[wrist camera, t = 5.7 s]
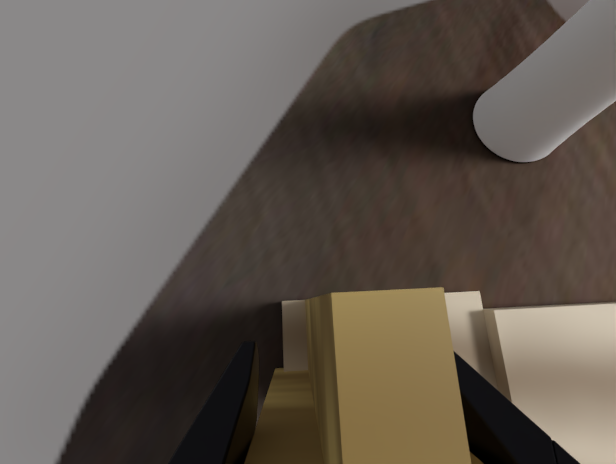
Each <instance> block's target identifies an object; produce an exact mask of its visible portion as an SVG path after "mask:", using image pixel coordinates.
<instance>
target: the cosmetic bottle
mask: <svg viewBox="0 0 616 464" xmlns="http://www.w3.org/2000/svg"><path fill="white" fill-rule="evenodd" d="M615 101H616V0H589V1H588V2H587V3H586V4H585V5H584V6H583V7H582V8H581V9H580V10H579V11H578V12H577V13H575V14H574V15H573V16H572V17H571V18H570V19H569V20H568V21H567V22H566V23H565V24H564V25H563V26H562V27H561V28H560V29H558V30H557V31H556V32H555V33H554V34H553V35H552V36H551V37H550V38H549V39H548V40H546V41H545V42H544V43H543V44H542V45H541V46H540V47H539V48H538V49H536V50H535V51H534V52H533V53H532V54H531V55H530V56H529V57H527V58H526V59H525V60H524V61H523V62H522V63H521V64H519V65H518V66H517V67H516V68H515V69H513V70H512V71H511V72H510V73H509V74H508V75H506V76H505V77H504V78H503V79H501V80H500V81H499V82H498V83H496V84H495V85H494V86H493V87H491V88H490V89H489V90H487V91H486V92H485V93H483V94H482V95H481V96H480V98H479V99H478V101H477V102H476V104H475V107H474V111H473V123H474V127H475V130H476V133H477V135H478V136H479V138H480V140H481V141H482V142H483V143H484V145H485V146H486V147H487V148H488V149H490V150H491V151H492V152H494V153H495V154H497V155H498V156H500V157H502V158H505V159H507V160H511V161H516V162H532V161H536V160H539V159H542V158H544V157H545V156H547V155H548V154H550V153H551V152H552V151H553V150H554V149H555V148H556V147H558V146H559V145H560V144H561V143H562V142H563V141H565V140H566V139H567V138H568V137H569V136H571V135H572V134H573V133H574V132H575V131H577V130H578V129H579V128H581V127H582V126H583V125H584V124H586V123H587V122H588V121H589V120H591V119H592V118H593V117H595V116H596V115H597V114H599V113H600V112H601V111H603V110H604V109H605V108H607V107H608V106H609V105H611V104H612V103H613V102H615Z"/></svg>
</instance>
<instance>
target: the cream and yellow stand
mask: <svg viewBox="0 0 616 464" xmlns="http://www.w3.org/2000/svg"><path fill="white" fill-rule="evenodd" d="M282 323H283V360H284V368H275V371H274V374H273V377H272V380H271V383H270V386H269V389H268V392H267V395H266V398H265V401H264V405H263V408H262V411H261V414H260V417H259V420H258V423H257V426H256V429H255V433H254V435H253V438H252V441H251V445H250V448H249V451H248V454H247V457H246V460H245V463H244V464H484V463H483V462H481V461H480V460H479V459H478V458H477V457H476V456H474V455H473V454H472V453H471V452H470V451H469V445H468V439H467V433H466V427H465V420H464V414H463V408H462V401H461V395H460V389H459V383H458V376H457V370H456V364H455V357H454V351H455V352H456V353H457V354H458V355H459V356H460V357H461V358H462V359H464V360H465V361H466V362H467V363H468V364H469V365H470V366H471V367H473V368H474V369H475V370H476V371H477V372H478V373H479V374H480V375H481V376H483V377H484V378H485V379H486V380H487V381H488V382H489V383H490V384H492V385H493V386H494V387H495V388H496V389H497V390H498V391H499V392H501V393H502V394H503V395H504V396H505V397H506V398H507V399H508V400H509V401H511V402H512V403H513V404H514V405H515V406H516V407H517V408H518V409H520V410H521V411H522V412H523V413H524V414H525V415H526V416H527V417H529V418H530V419H531V420H532V421H533V422H534V423H535V424H536V425H537V426H539V427H540V428H541V429H542V430H543V431H544V432H545V433H546V434H548V435H549V436H550V437H551V440H554V441H556V442H557V443H558V444H559V445H560V446H561V447H562V448H563V449H564V450H566V451H567V452H568V453H569V454H570V455H571V456H572V457H574V458H575V459H576V460H577V461H578V462H579V463H580V464H616V302H600V303H581V304H563V305H544V306H526V307H507V308H488V309H483V307H482V302H481V297H480V291H473V292H453V293H444V288H443V287H442V288H421V289H401V290H381V291H361V292H341V293H329V294H326V295H322V296H318V297H314V298H311V299H307V300H295V301H282Z"/></svg>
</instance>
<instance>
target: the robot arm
mask: <svg viewBox="0 0 616 464" xmlns="http://www.w3.org/2000/svg"><path fill="white" fill-rule="evenodd" d="M454 357H455V364H456V370H457V376H458V383H459V389H460V395H461V401H462V408H463V414H464V420H465V427H466V433H467V439H468V445H469V451H470V452H471V453H472V454H473V455H474V456H476V457H477V458H478V459H479V460H480V461H481V462H483V463H484V464H580V463H579V462H578V461H577V460H576V459H575V458H574V457H572V456H571V455H570V454H569V453H568V452H567V451H566V450H564V449H563V448H562V447H561V446H560V445H559V444H558V443H557V442H556V441H554V440H551V437H550V436H549V435H548V434H546V433H545V432H544V431H543V430H542V429H541V428H540V427H539V426H537V425H536V424H535V423H534V422H533V421H532V420H531V419H530V418H529V417H527V416H526V415H525V414H524V413H523V412H522V411H521V410H520V409H518V408H517V407H516V406H515V405H514V404H513V403H512V402H511V401H509V400H508V399H507V398H506V397H505V396H504V395H503V394H502V393H501V392H499V391H498V390H497V389H496V388H495V387H494V386H493V385H492V384H490V383H489V382H488V381H487V380H486V379H485V378H484V377H483V376H481V375H480V374H479V373H478V372H477V371H476V370H475V369H474V368H473V367H471V366H470V365H469V364H468V363H467V362H466V361H465V360H464V359H462V358H461V357H460V356H459V355H458V354H457V353H456V352H455V351H454ZM258 382H259V354H258V347H257V342H256V341H244V342H242V344H241V345H240V347H239V348H238V350H237V352H236V353H235V355H234V356H233V358H232V360H231V361H230V363H229V365H228V366H227V368H226V370H225V371H224V373H223V374H222V376H221V378H220V379H219V381H218V383H217V384H216V386H215V388H214V389H213V391H212V392H211V394H210V396H209V397H208V399H207V401H206V402H205V404H204V406H203V407H202V409H201V410H200V412H199V414H198V415H197V417H196V419H195V420H194V422H193V423H192V425H191V427H190V428H189V430H188V432H187V433H186V435H185V437H184V438H183V440H182V441H181V443H180V445H179V446H178V448H177V450H176V451H175V453H174V455H173V456H172V458H171V459H170V461H169V463H168V464H244V463H245V460H246V457H247V454H248V451H249V448H250V445H251V441H252V438H253V435H254V433H255V427H256V419H257V404H258Z"/></svg>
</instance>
